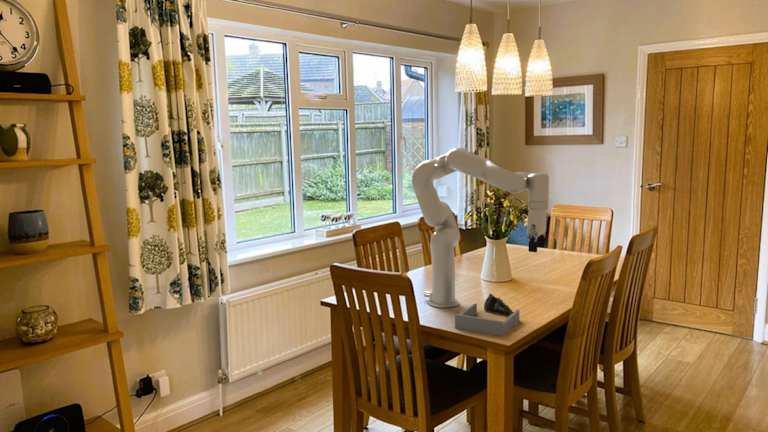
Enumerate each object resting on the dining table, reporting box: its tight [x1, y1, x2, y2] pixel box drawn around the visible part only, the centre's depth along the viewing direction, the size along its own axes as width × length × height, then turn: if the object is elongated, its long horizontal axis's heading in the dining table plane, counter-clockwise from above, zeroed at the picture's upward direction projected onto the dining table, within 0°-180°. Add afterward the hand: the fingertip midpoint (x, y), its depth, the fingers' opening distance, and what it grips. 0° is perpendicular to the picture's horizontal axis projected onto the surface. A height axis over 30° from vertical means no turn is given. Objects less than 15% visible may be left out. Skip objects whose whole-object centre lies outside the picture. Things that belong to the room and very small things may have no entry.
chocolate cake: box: [483, 293, 514, 318], centre depth 228 cm, size 10×7×12 cm
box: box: [454, 303, 520, 337], centre depth 213 cm, size 18×19×5 cm
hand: (536, 249), depth 222 cm, fingers open, 9 cm apart
